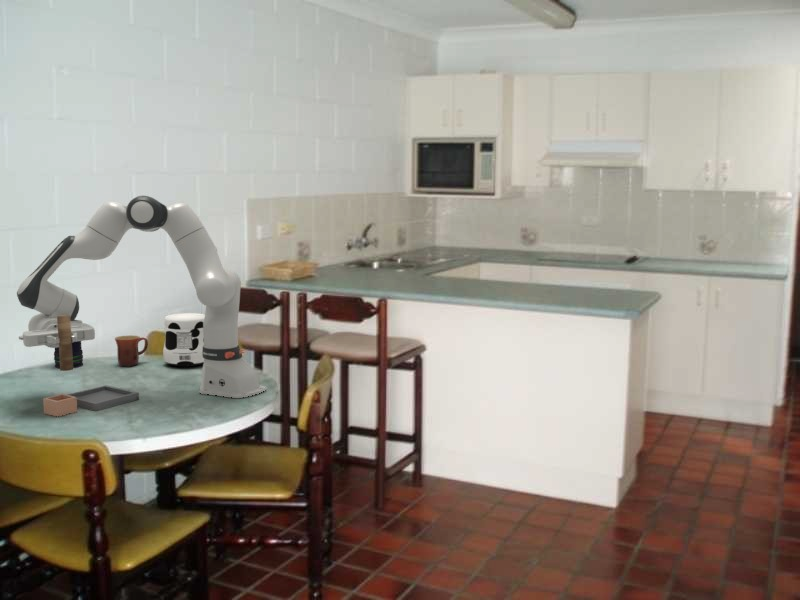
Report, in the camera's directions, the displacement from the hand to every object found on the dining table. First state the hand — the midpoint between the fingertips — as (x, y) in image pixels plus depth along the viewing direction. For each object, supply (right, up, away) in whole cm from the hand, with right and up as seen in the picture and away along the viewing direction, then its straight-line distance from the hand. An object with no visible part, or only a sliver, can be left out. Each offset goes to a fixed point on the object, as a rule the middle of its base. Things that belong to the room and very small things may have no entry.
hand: (66, 340), depth 251 cm
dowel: (-1, -9, +2) cm, 9 cm away
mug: (-1, -12, +65) cm, 66 cm away
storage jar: (-23, -12, +62) cm, 67 cm away
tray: (+5, -20, +15) cm, 25 cm away
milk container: (+19, -12, +66) cm, 70 cm away
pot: (-2, -22, +2) cm, 22 cm away
